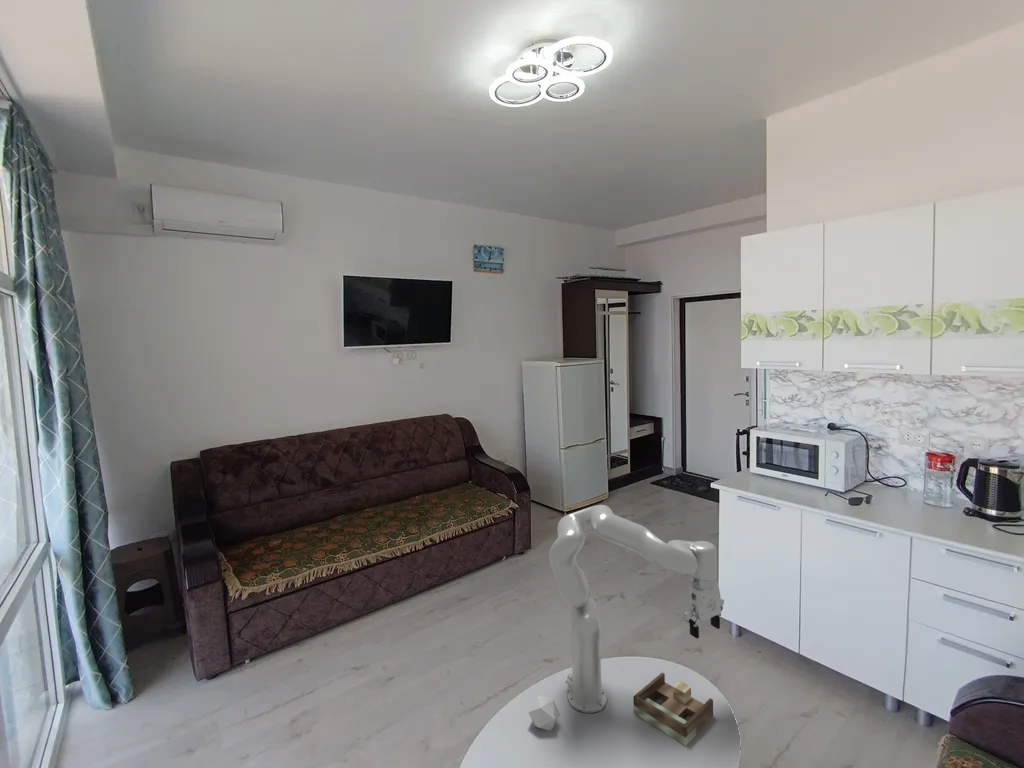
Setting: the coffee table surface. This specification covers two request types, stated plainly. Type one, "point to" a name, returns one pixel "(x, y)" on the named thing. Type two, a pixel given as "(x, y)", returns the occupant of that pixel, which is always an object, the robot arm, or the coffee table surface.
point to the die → (544, 713)
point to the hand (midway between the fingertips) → (705, 631)
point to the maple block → (682, 692)
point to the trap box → (671, 710)
